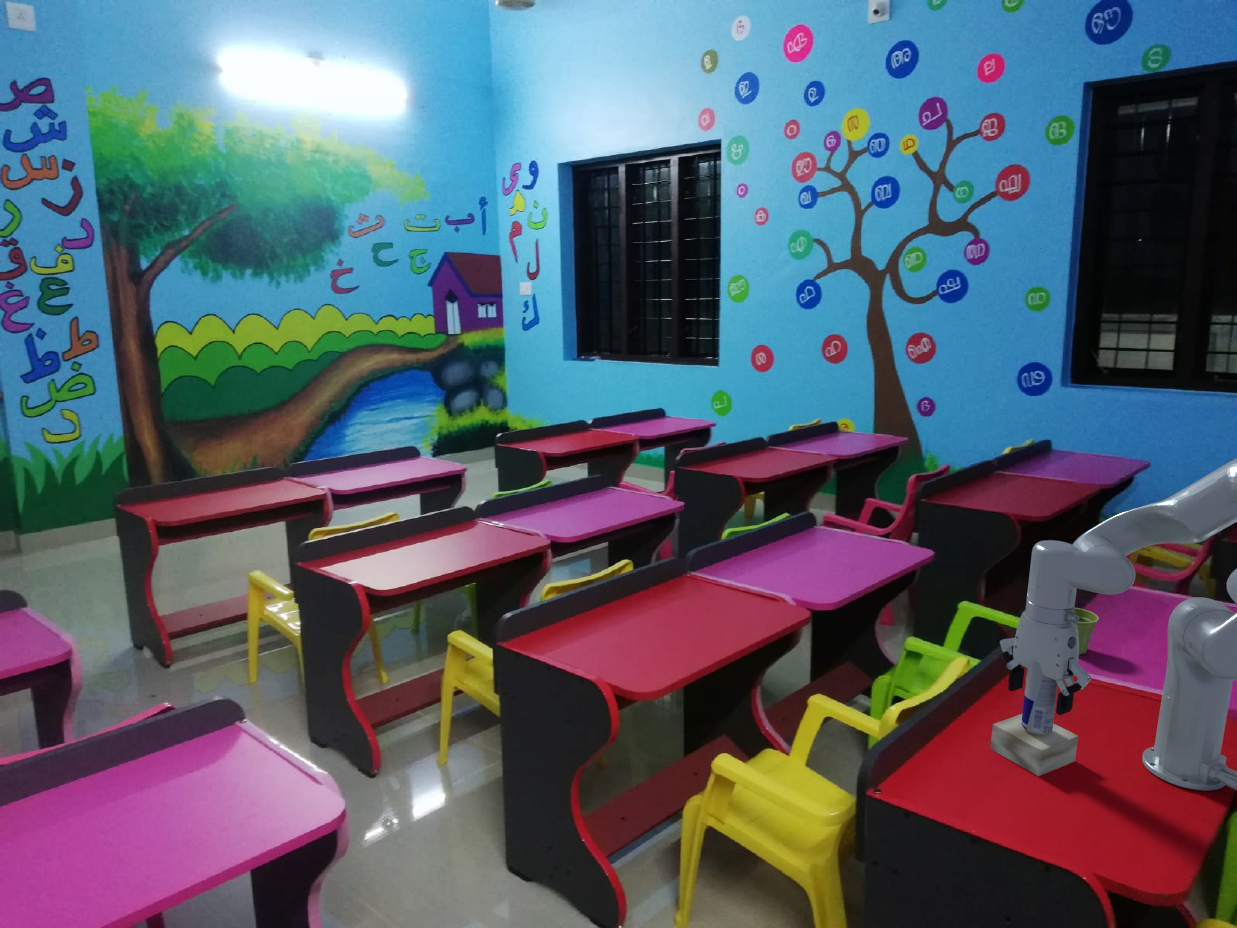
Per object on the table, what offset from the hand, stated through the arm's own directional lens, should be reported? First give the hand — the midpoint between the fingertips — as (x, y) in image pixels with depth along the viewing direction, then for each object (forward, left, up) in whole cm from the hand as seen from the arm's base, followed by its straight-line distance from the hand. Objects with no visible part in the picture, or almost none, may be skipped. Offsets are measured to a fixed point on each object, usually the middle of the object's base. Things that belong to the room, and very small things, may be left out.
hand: (1038, 700), depth 156 cm
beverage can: (0, 0, -6) cm, 6 cm away
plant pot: (+25, -47, -11) cm, 54 cm away
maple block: (0, 0, -11) cm, 11 cm away
